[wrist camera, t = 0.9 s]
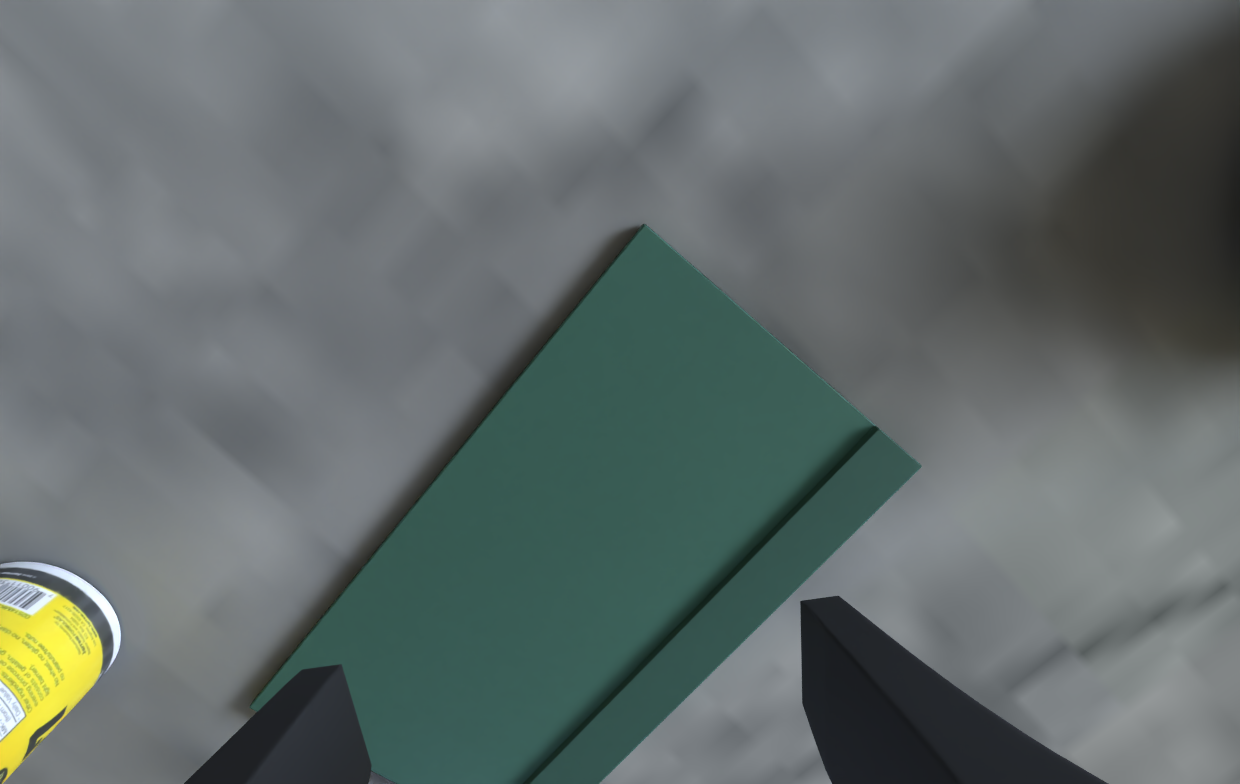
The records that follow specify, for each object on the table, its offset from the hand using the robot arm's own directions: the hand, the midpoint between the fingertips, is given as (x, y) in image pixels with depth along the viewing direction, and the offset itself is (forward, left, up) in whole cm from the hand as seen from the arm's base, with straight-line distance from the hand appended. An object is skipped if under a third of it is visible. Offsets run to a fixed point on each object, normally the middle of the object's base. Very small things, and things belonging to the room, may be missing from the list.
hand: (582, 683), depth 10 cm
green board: (-4, -3, -10) cm, 11 cm away
